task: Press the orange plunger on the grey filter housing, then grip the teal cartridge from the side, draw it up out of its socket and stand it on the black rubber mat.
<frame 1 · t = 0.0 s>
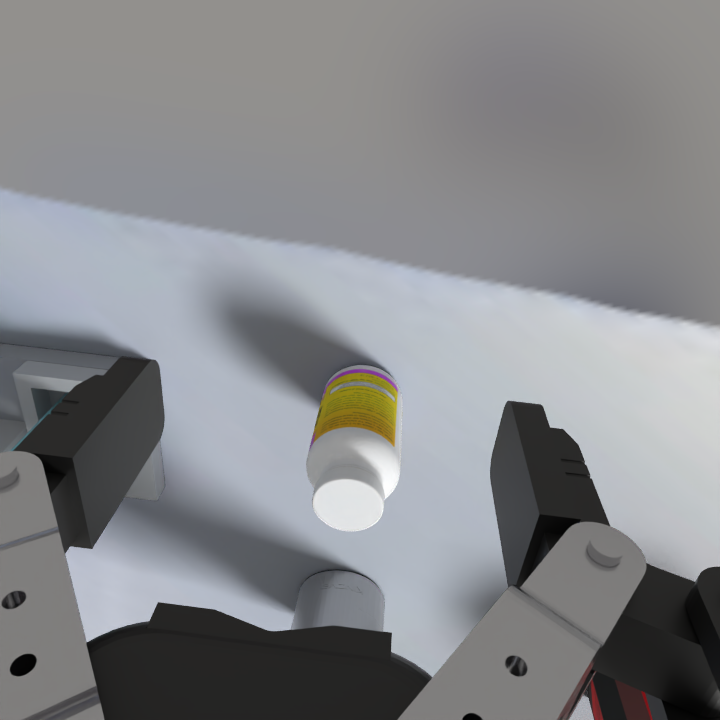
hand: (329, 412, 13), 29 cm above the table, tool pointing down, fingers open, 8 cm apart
housing: (55, 415, 52), on the table
supplement bottle: (363, 394, 48), on the table
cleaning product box: (665, 668, 63), on the table
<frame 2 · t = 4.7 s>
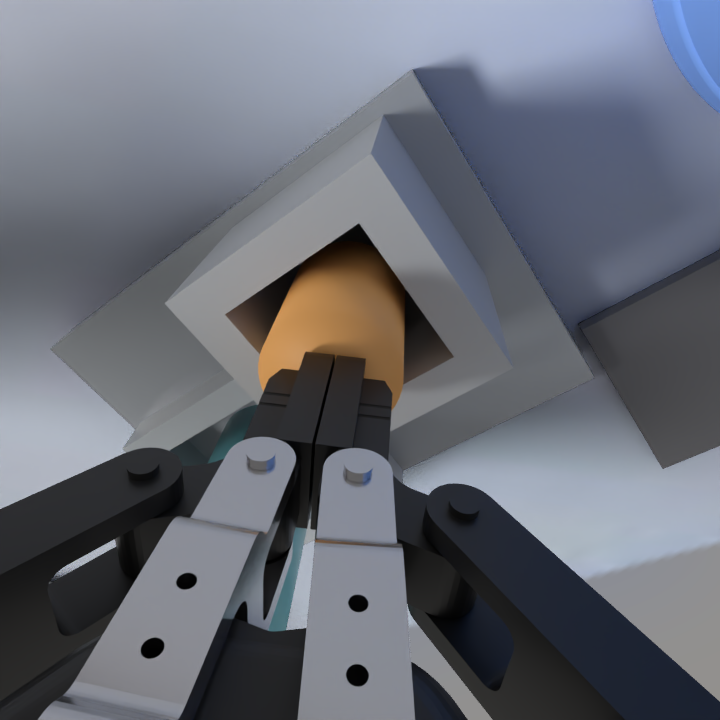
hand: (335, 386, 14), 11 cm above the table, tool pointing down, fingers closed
housing: (321, 341, 26), on the table
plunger: (341, 330, 16), point 9 cm above the table, slide at 0.8 cm, touching gripper
cartridge: (272, 446, 27), point 2 cm above the table, touching housing
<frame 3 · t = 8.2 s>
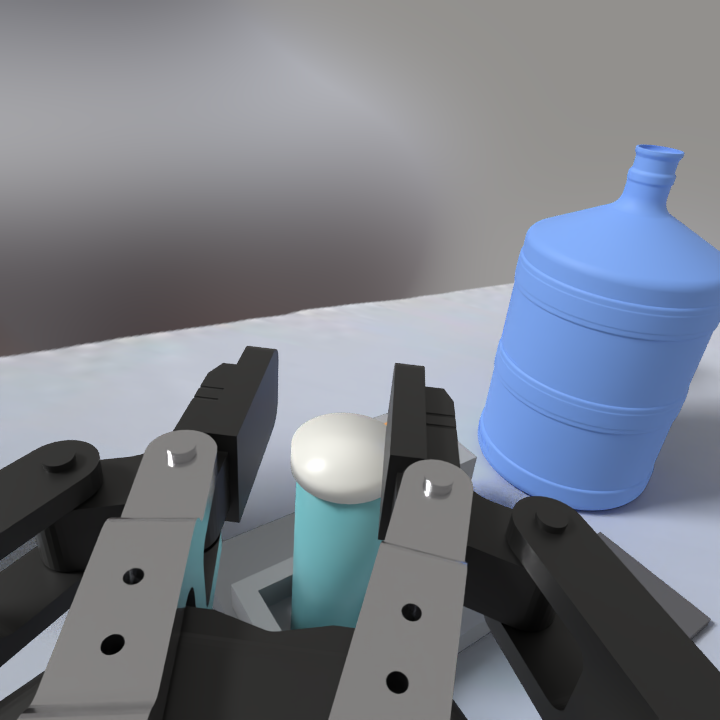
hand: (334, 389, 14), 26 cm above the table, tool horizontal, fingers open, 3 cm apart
housing: (364, 588, 40), on the table
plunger: (402, 461, 41), point 7 cm above the table, slide at 2.1 cm
mat: (612, 604, 41), on the table
water jug: (557, 457, 55), on the table
cartridge: (330, 628, 35), point 2 cm above the table, touching housing
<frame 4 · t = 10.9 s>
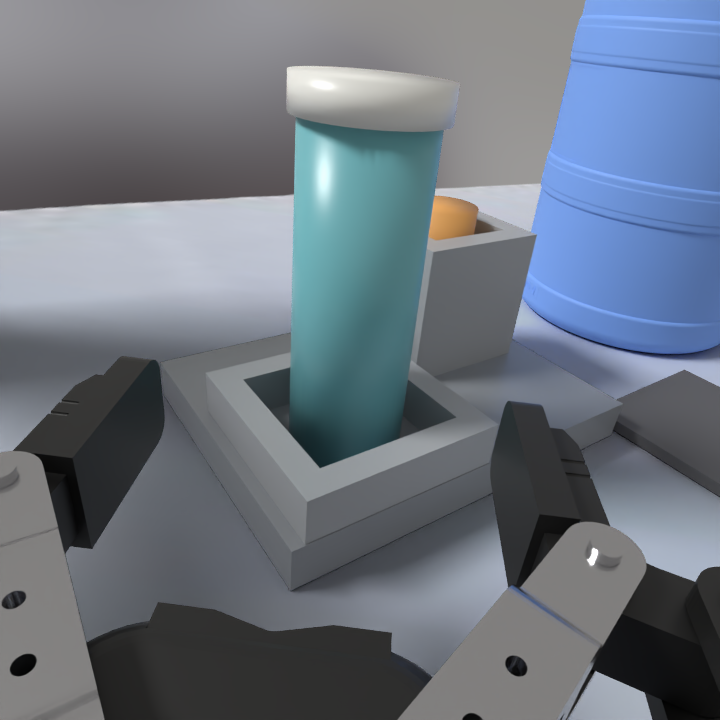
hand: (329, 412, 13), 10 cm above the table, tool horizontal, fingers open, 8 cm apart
housing: (387, 414, 30), on the table
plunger: (436, 251, 31), point 7 cm above the table, slide at 2.1 cm
mat: (715, 438, 31), on the table
water jug: (615, 311, 45), on the table
cartridge: (344, 435, 25), point 2 cm above the table, touching housing
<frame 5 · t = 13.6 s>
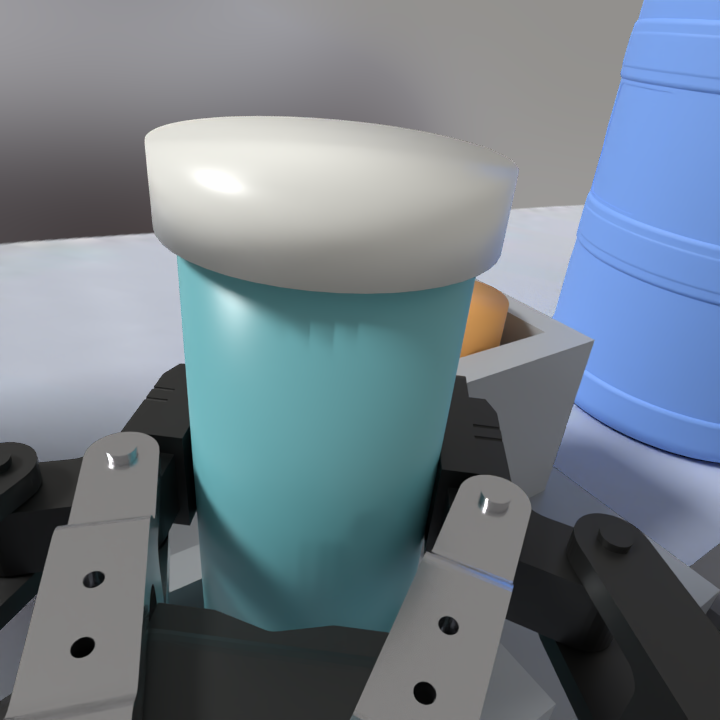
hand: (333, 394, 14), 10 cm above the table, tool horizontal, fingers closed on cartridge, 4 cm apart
housing: (375, 597, 21), on the table
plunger: (446, 356, 22), point 7 cm above the table, slide at 2.1 cm
water jug: (666, 391, 36), on the table
cartridge: (302, 689, 16), point 2 cm above the table, touching gripper, housing
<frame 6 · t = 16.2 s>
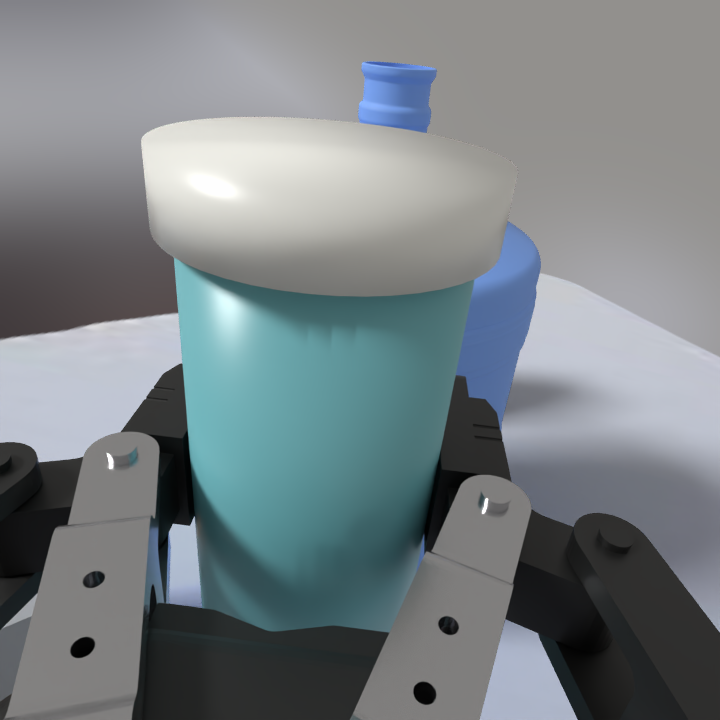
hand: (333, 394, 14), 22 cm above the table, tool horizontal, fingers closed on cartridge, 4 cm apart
water jug: (351, 535, 39), on the table
cartridge: (301, 692, 16), point 14 cm above the table, touching gripper
when the fingers open (10 cm above the table, at t = 19.2 s): cartridge drops 1 cm, resting on mat.
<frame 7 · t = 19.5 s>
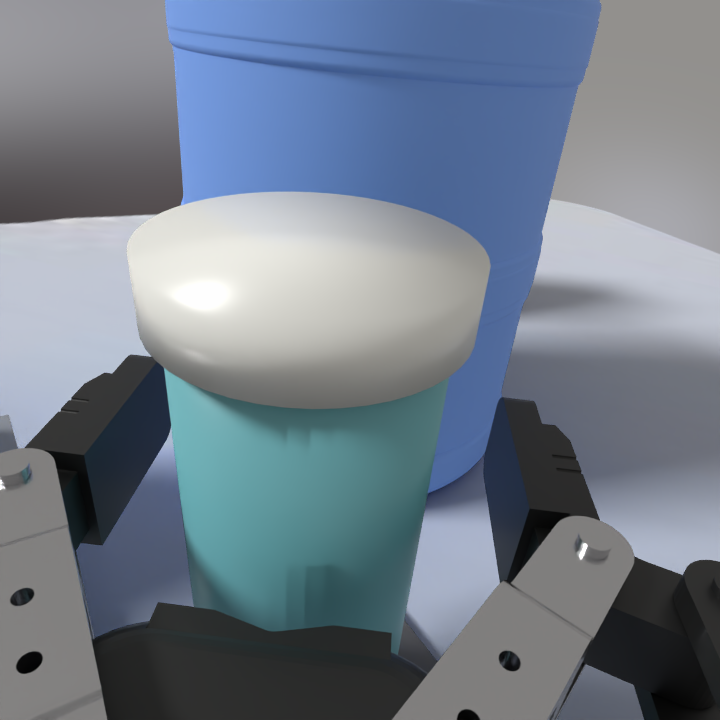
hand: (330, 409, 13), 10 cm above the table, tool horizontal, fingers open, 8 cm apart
water jug: (345, 411, 31), on the table
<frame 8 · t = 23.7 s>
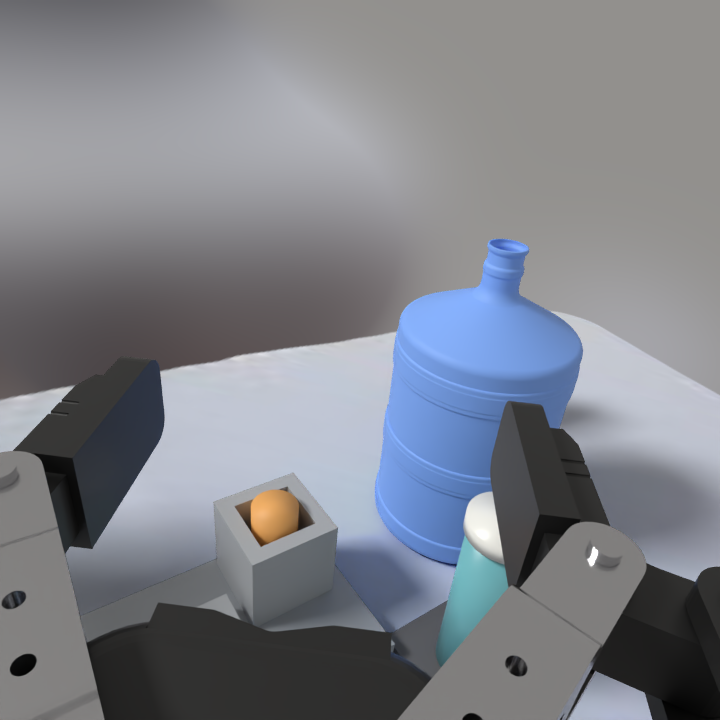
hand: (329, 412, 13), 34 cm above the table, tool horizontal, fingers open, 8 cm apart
housing: (238, 646, 44), on the table
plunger: (274, 529, 45), point 7 cm above the table, slide at 2.1 cm
mat: (466, 659, 45), on the table
water jug: (449, 509, 59), on the table
cartridge: (466, 655, 44), point 1 cm above the table, touching mat
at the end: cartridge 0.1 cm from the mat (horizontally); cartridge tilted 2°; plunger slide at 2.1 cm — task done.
